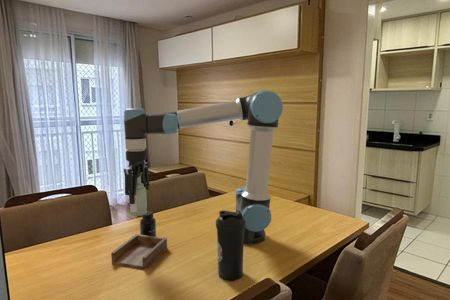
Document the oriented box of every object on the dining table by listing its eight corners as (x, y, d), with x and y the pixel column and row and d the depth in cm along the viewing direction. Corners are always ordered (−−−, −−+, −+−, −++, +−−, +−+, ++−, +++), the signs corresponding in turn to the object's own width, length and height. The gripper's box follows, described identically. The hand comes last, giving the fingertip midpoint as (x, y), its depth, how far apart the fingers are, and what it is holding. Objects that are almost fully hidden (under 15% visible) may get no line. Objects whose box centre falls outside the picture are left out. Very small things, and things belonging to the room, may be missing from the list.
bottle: (149, 211, 119) (148, 172, 116) (141, 216, 113) (139, 175, 111) (136, 209, 120) (134, 171, 118) (127, 215, 114) (125, 174, 112)
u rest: (167, 248, 125) (166, 238, 125) (145, 269, 109) (145, 257, 108) (136, 243, 129) (136, 234, 129) (111, 263, 113) (111, 252, 112)
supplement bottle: (152, 242, 130) (151, 216, 129) (137, 241, 132) (136, 215, 130) (158, 235, 137) (157, 210, 135) (144, 234, 138) (143, 209, 137)
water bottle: (215, 267, 111) (214, 207, 107) (242, 265, 111) (243, 206, 108) (216, 283, 101) (216, 218, 97) (246, 281, 101) (247, 217, 98)
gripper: (140, 146, 123) (143, 200, 126) (111, 153, 105) (115, 216, 108) (157, 146, 121) (159, 201, 124) (130, 154, 103) (133, 218, 106)
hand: (138, 208), depth 116 cm, fingers closed on bottle, 6 cm apart
